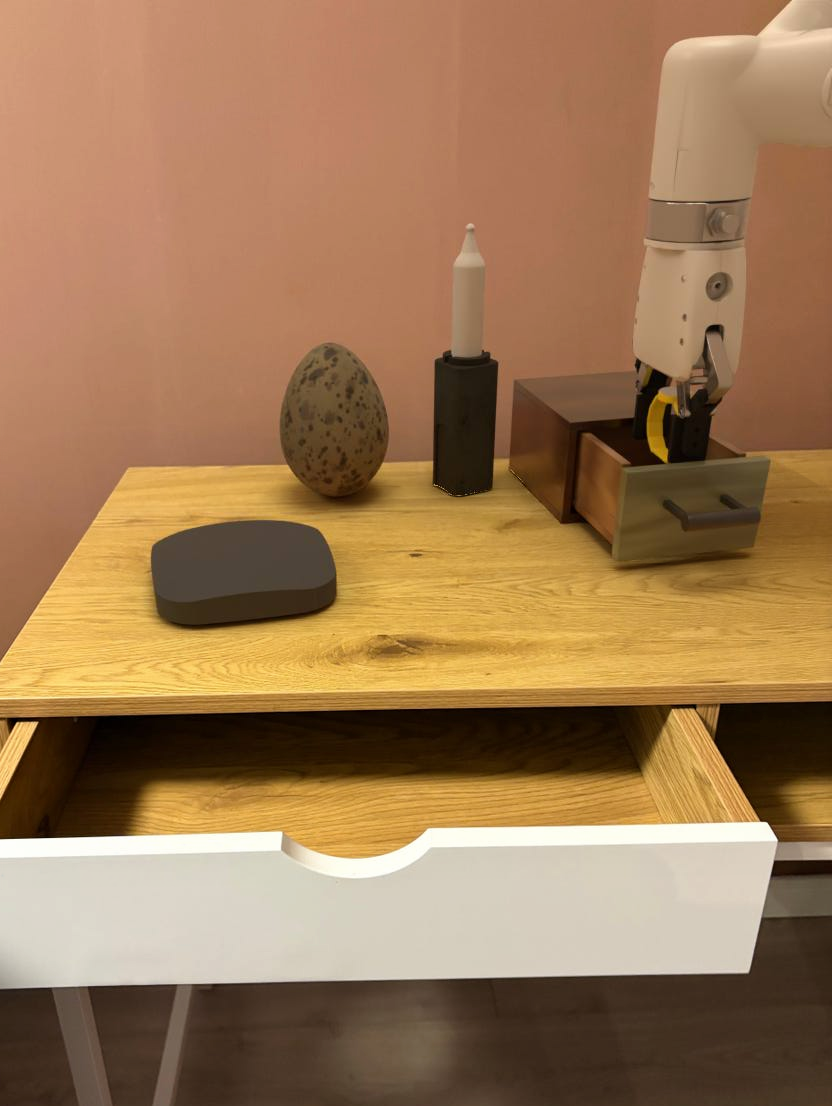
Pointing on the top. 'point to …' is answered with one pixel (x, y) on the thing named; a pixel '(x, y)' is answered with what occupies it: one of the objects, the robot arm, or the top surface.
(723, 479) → the drawer
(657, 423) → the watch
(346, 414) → the decorative egg
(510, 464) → the cabinet
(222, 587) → the media streaming box
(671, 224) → the robot arm
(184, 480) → the top surface
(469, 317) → the candle
